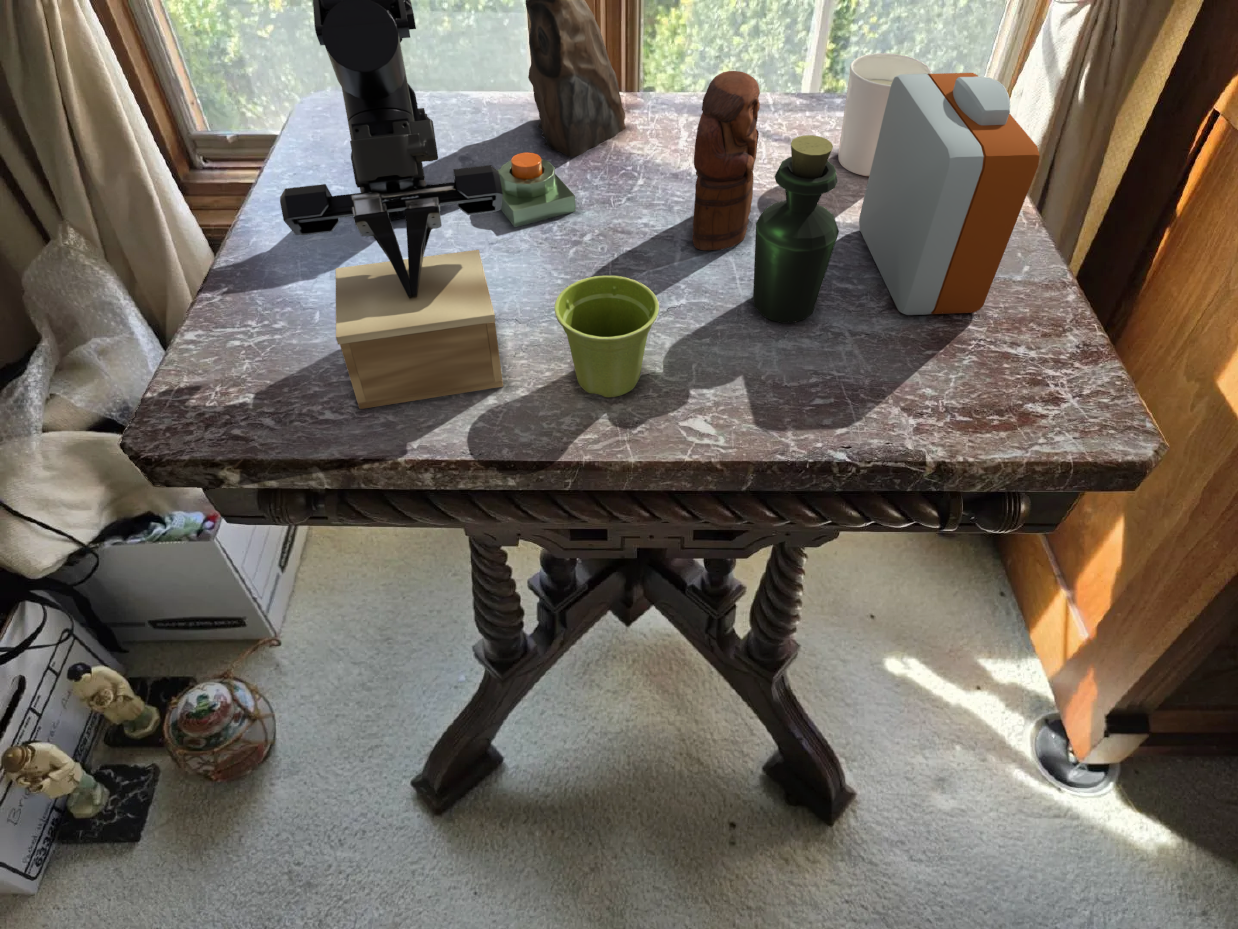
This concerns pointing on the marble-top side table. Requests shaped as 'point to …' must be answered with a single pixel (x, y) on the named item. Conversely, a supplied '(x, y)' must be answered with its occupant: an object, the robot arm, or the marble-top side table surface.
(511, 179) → the button block
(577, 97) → the owl
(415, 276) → the robot arm
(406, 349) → the chest
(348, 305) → the lid
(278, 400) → the marble-top side table surface
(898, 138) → the alarm clock
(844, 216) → the marble-top side table surface
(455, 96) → the marble-top side table surface
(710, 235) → the wooden figurine
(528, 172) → the button
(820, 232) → the potion bottle
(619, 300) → the plant pot
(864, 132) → the candle holder
